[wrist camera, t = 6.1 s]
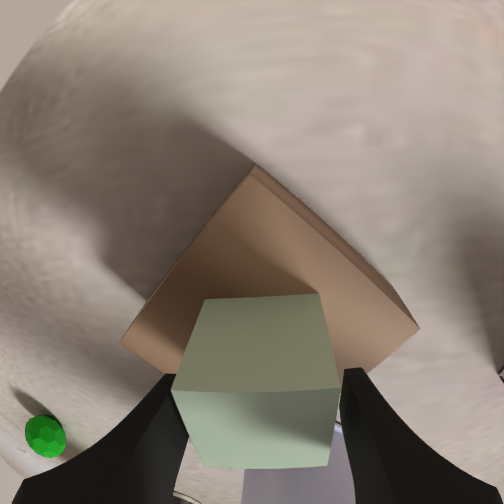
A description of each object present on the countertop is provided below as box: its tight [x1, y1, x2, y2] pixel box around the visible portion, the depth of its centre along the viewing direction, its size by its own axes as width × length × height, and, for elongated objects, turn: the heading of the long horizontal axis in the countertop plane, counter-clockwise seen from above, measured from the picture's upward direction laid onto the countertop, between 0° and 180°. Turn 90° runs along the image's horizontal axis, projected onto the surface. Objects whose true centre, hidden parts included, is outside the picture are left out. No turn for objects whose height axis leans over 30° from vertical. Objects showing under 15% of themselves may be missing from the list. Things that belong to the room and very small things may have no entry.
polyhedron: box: [25, 415, 66, 458], centre depth 23 cm, size 5×5×5 cm
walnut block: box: [119, 164, 420, 393], centre depth 15 cm, size 10×10×4 cm
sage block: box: [171, 293, 341, 469], centre depth 10 cm, size 4×4×5 cm
